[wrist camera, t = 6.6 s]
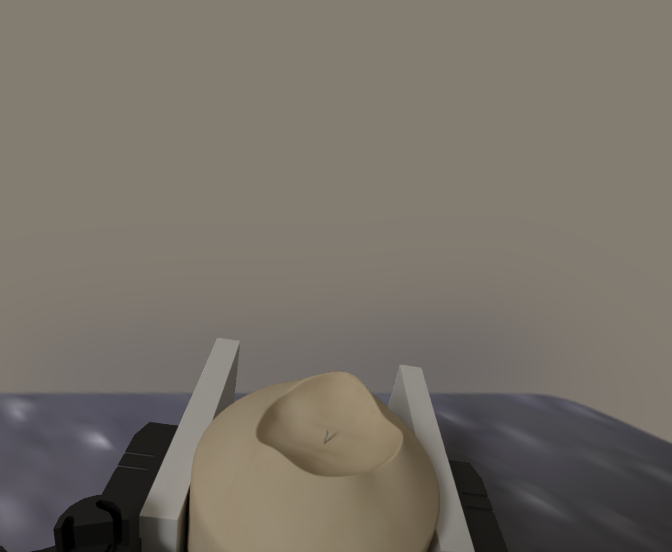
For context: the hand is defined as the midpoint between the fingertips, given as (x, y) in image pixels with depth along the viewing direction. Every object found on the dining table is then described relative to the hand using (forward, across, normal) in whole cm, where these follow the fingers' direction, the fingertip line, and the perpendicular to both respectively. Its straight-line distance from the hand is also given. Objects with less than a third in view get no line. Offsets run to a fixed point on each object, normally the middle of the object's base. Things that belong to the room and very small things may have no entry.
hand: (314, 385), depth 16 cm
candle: (-5, 0, -7) cm, 8 cm away
